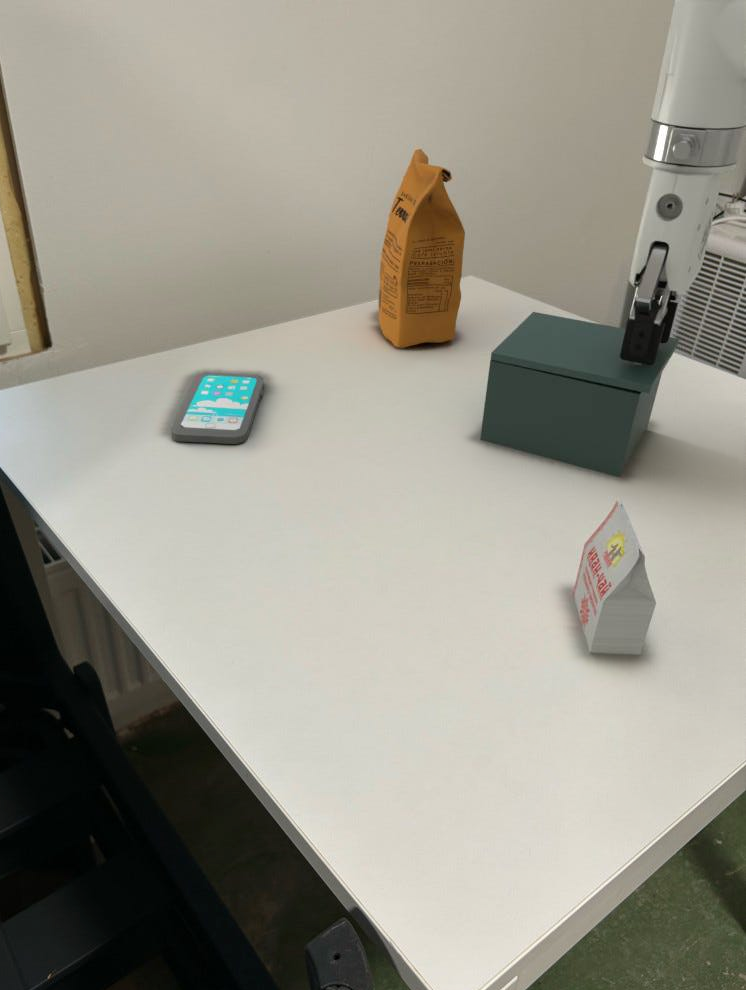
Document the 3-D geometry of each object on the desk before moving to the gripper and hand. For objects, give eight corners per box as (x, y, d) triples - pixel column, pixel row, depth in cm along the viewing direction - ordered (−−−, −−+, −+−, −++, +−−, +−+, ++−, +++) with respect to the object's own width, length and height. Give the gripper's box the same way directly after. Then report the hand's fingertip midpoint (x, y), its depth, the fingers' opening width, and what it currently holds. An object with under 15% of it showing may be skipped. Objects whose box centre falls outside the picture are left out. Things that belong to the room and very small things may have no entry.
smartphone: (165, 432, 86) (195, 370, 98) (166, 440, 87) (196, 378, 99) (246, 436, 86) (267, 374, 98) (247, 444, 87) (267, 381, 99)
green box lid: (677, 345, 84) (691, 291, 81) (649, 394, 75) (663, 335, 72) (532, 318, 90) (539, 267, 87) (490, 359, 81) (496, 304, 78)
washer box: (646, 431, 90) (668, 346, 84) (617, 484, 81) (639, 394, 76) (519, 399, 96) (532, 318, 90) (479, 447, 87) (490, 360, 81)
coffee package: (439, 313, 117) (453, 145, 104) (462, 348, 108) (481, 168, 94) (370, 316, 116) (376, 146, 103) (387, 352, 106) (396, 169, 93)
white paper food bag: (616, 603, 67) (645, 501, 61) (637, 663, 62) (670, 557, 56) (571, 602, 67) (594, 499, 61) (587, 661, 62) (615, 555, 56)
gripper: (723, 171, 61) (665, 393, 72) (754, 133, 73) (700, 328, 84) (621, 159, 64) (580, 375, 75) (668, 125, 76) (626, 314, 87)
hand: (644, 348), depth 79 cm, fingers closed on green box lid, 5 cm apart
